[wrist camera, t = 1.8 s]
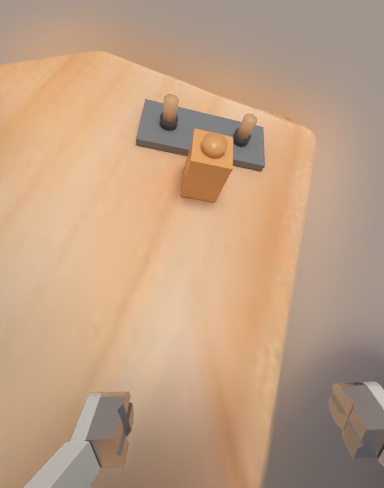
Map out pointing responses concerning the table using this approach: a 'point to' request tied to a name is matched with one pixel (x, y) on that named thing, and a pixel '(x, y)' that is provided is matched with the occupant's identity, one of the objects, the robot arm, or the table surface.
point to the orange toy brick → (207, 165)
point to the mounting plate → (183, 123)
